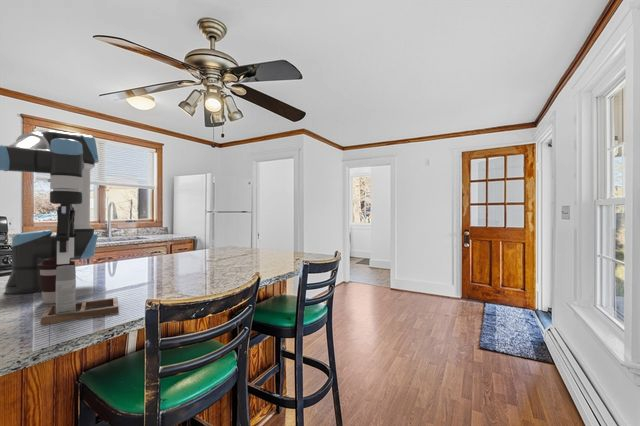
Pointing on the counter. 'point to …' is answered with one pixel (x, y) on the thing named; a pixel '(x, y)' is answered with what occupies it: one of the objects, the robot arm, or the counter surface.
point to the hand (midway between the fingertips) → (66, 260)
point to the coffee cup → (49, 279)
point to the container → (65, 289)
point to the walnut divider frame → (81, 311)
